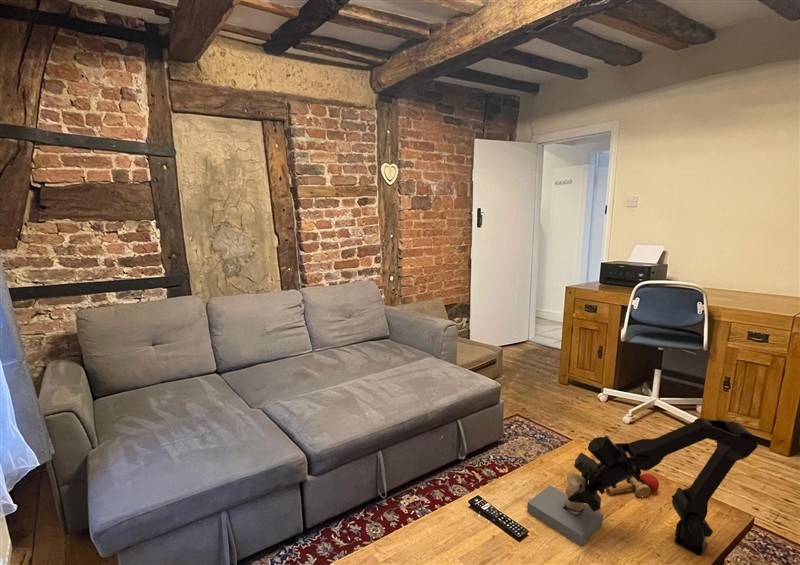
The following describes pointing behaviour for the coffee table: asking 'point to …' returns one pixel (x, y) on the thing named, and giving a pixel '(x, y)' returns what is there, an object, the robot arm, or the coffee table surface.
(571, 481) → the peg
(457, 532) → the coffee table surface
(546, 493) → the board
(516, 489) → the coffee table surface
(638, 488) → the kendama
